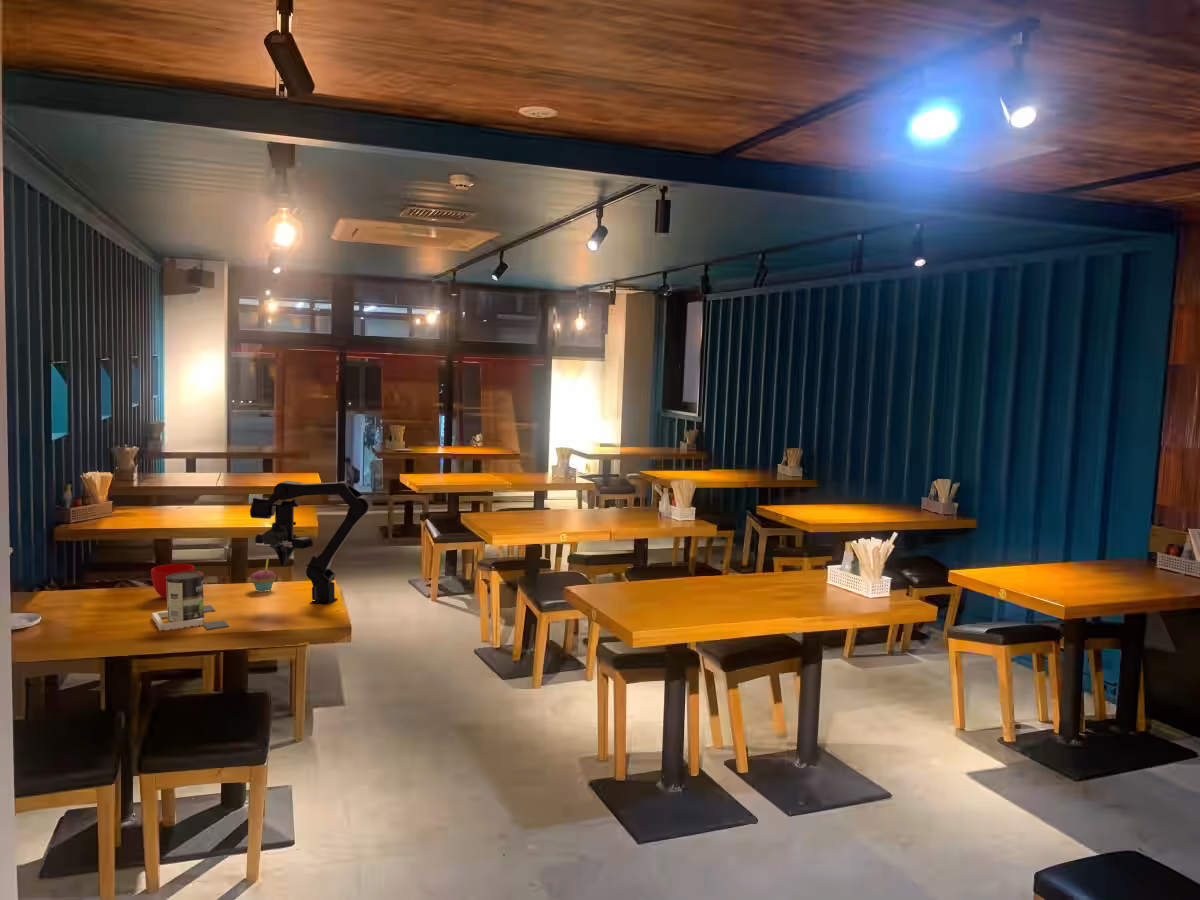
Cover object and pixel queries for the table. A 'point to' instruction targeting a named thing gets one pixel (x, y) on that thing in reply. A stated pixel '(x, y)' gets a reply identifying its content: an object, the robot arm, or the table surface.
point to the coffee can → (185, 596)
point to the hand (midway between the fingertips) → (283, 566)
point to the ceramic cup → (163, 571)
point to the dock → (173, 625)
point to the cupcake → (263, 579)
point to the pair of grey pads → (215, 623)
